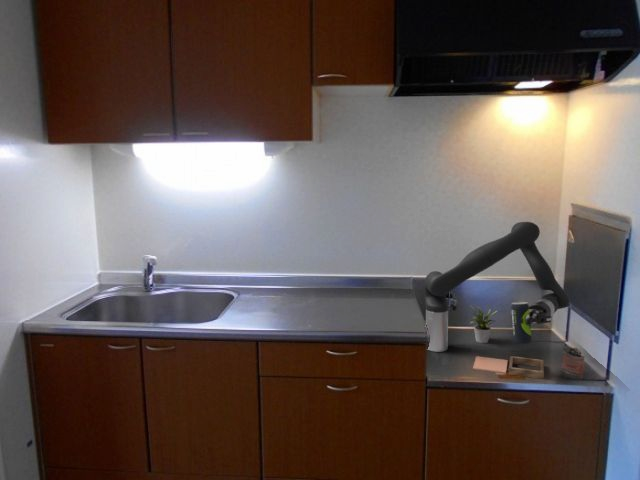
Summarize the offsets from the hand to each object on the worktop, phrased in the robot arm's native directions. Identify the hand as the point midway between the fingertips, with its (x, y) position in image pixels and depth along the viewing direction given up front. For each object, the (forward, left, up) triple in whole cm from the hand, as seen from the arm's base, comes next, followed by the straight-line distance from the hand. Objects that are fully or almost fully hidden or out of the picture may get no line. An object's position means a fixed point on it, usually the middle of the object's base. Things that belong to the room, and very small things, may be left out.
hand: (524, 321), depth 184 cm
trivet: (-12, +4, -20) cm, 24 cm away
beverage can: (0, +2, -9) cm, 9 cm away
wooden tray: (+1, +4, -20) cm, 21 cm away
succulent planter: (+17, +7, -21) cm, 28 cm away
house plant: (-19, +30, -21) cm, 41 cm away
